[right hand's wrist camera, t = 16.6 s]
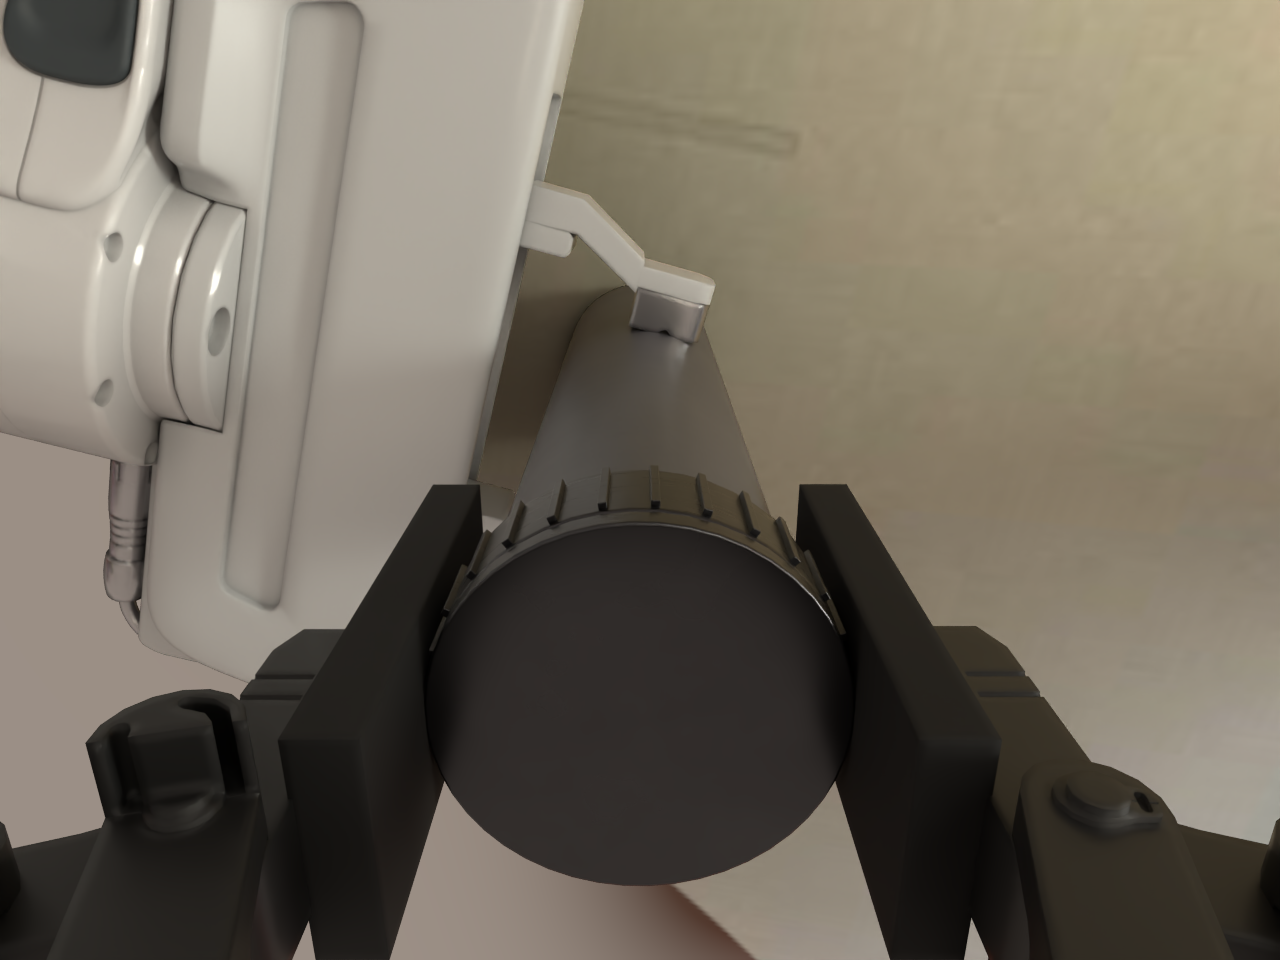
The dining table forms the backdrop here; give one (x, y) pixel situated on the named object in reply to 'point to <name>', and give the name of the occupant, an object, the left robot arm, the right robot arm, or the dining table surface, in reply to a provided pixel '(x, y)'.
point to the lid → (639, 680)
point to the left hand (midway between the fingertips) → (673, 419)
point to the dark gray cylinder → (637, 408)
